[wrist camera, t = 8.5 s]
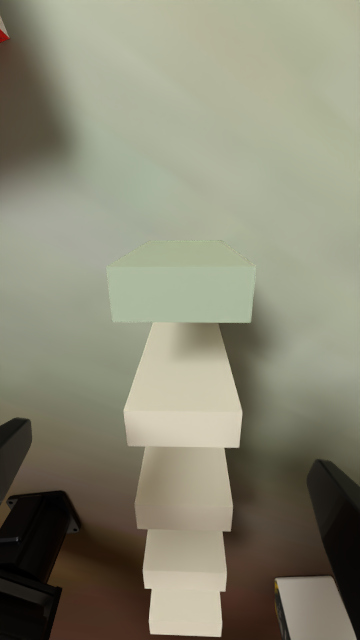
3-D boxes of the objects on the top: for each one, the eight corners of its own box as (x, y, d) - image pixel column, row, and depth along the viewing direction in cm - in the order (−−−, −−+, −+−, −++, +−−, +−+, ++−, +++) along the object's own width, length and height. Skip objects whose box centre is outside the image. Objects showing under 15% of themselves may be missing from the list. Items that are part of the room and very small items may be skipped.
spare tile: (219, 269, 18) (250, 322, 9) (150, 269, 19) (112, 321, 9) (221, 240, 18) (256, 266, 8) (149, 240, 18) (106, 266, 9)
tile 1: (210, 494, 27) (220, 636, 18) (163, 493, 28) (150, 634, 18) (210, 481, 27) (222, 623, 17) (162, 480, 27) (148, 620, 18)
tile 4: (216, 344, 21) (239, 447, 11) (155, 344, 21) (127, 445, 12) (217, 321, 20) (242, 412, 11) (153, 321, 20) (123, 410, 11)
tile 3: (214, 404, 23) (230, 531, 14) (158, 403, 23) (137, 528, 14) (214, 385, 22) (233, 506, 13) (157, 385, 22) (134, 504, 13)
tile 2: (211, 453, 25) (225, 591, 16) (161, 452, 25) (144, 588, 16) (212, 438, 24) (226, 573, 15) (160, 437, 25) (142, 570, 15)
